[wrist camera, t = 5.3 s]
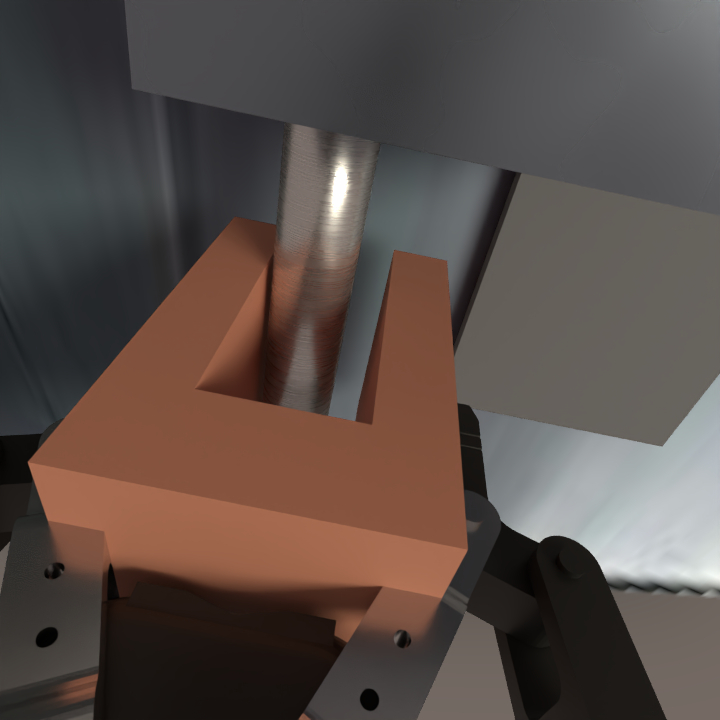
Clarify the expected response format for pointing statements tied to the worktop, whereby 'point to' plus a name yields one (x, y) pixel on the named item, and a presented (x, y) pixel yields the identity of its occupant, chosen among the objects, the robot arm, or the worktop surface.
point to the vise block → (434, 117)
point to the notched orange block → (268, 451)
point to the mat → (593, 312)
